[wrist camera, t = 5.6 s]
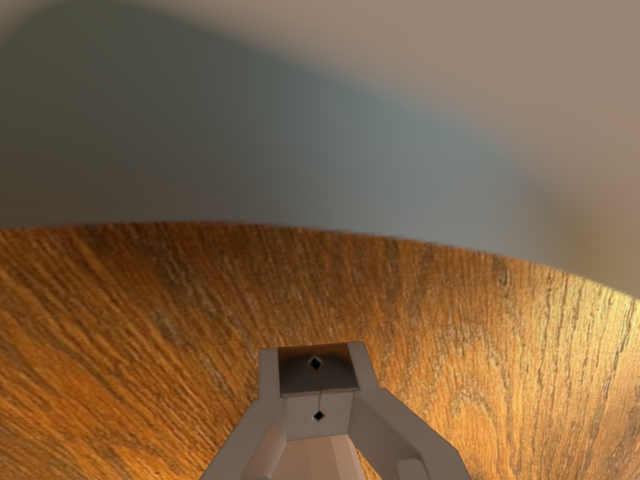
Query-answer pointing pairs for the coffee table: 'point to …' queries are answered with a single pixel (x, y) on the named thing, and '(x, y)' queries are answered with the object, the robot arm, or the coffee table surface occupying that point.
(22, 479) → the coffee table surface
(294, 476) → the shot glass
